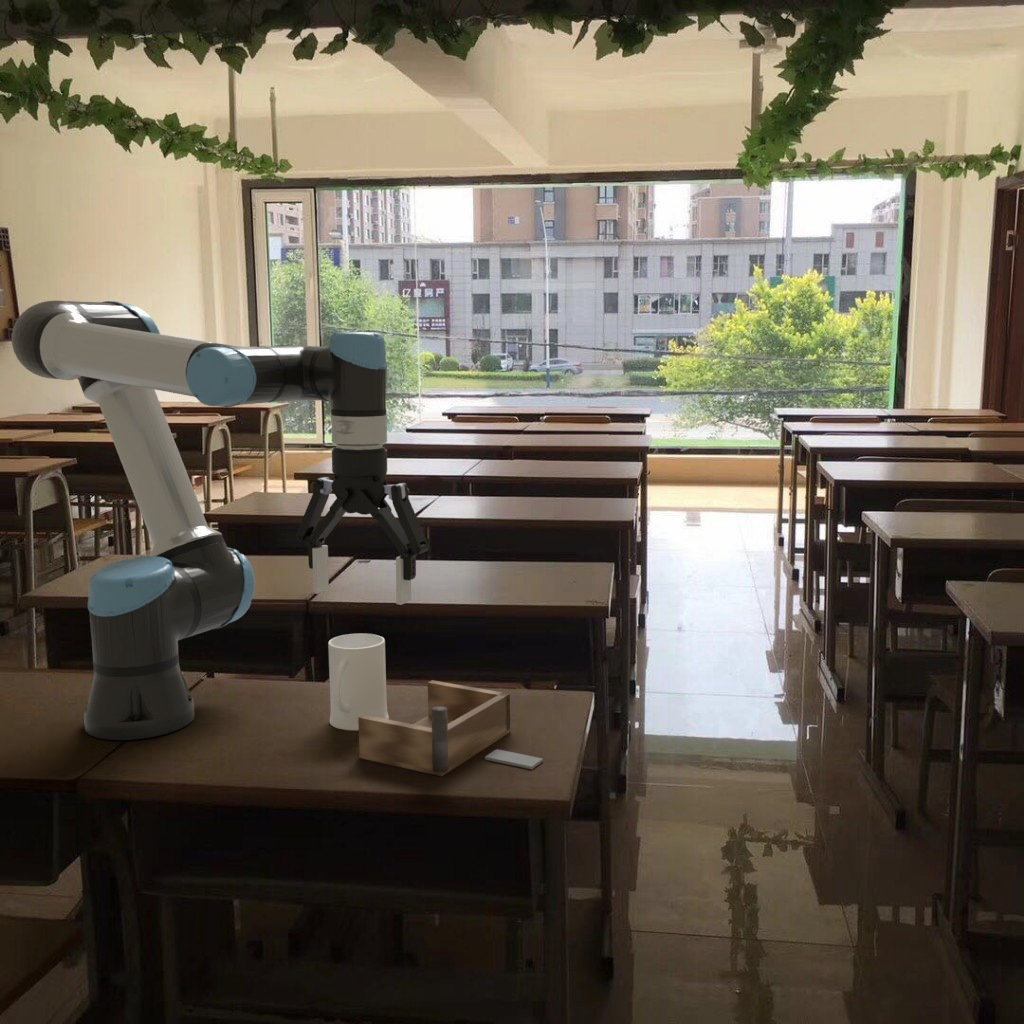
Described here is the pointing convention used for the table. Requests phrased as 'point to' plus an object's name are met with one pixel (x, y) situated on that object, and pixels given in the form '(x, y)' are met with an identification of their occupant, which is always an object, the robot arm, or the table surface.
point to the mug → (357, 679)
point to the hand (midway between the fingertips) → (361, 597)
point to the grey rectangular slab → (514, 759)
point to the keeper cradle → (438, 730)
